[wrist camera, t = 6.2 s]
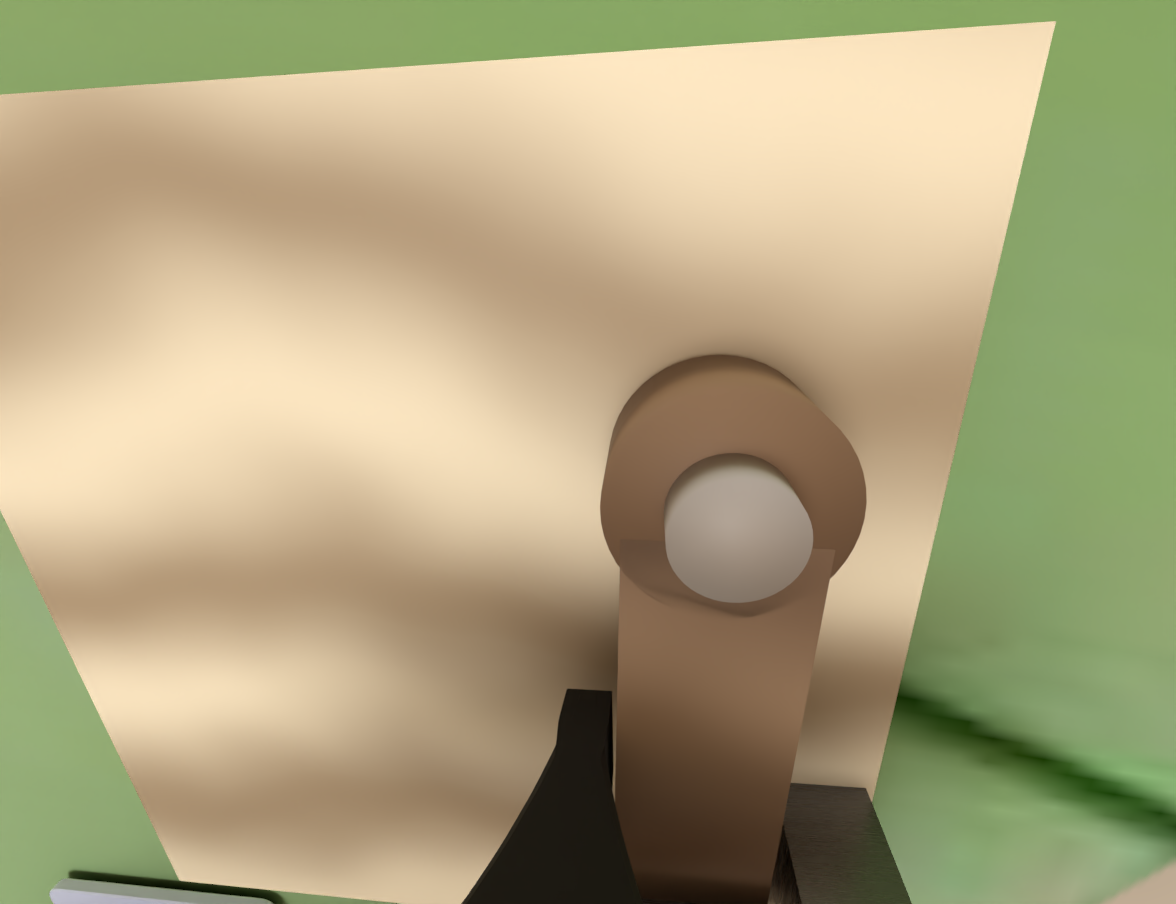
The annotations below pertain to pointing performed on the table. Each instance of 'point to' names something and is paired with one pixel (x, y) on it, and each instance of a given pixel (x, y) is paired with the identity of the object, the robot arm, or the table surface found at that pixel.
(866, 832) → the keeper
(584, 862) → the robot arm
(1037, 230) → the table surface
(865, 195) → the base board
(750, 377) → the latch bar
